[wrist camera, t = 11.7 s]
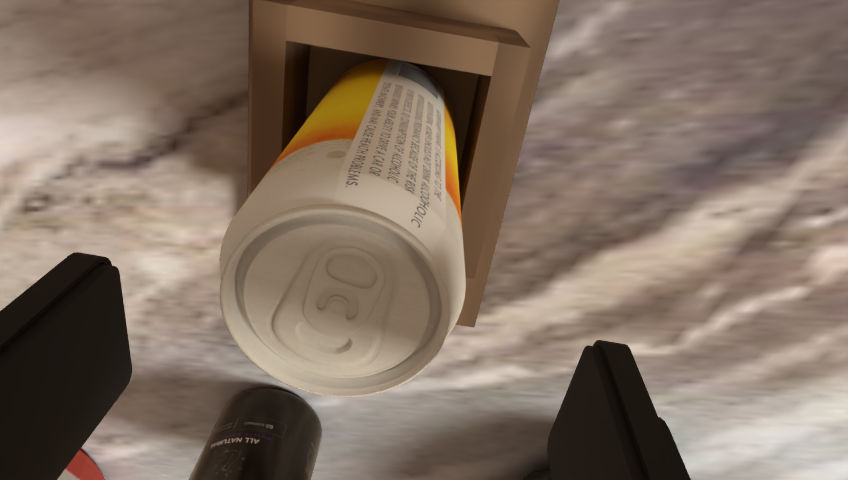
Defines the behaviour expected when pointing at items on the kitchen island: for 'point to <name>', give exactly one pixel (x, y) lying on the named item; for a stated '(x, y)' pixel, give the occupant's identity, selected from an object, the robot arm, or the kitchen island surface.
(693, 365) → the kitchen island surface
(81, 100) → the kitchen island surface
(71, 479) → the citrus juicer
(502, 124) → the can caddy
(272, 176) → the beer can
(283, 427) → the supplement bottle
